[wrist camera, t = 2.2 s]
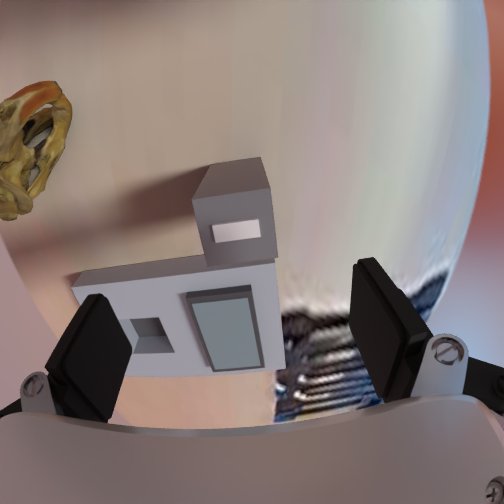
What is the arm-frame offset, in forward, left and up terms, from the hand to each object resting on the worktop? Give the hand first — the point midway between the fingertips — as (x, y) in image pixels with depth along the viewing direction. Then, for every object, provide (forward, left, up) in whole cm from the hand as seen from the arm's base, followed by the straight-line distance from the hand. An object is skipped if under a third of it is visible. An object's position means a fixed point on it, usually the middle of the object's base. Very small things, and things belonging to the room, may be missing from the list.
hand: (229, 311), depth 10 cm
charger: (0, -1, -15) cm, 15 cm away
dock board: (+8, +13, -15) cm, 21 cm away
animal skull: (+17, -8, -15) cm, 24 cm away
